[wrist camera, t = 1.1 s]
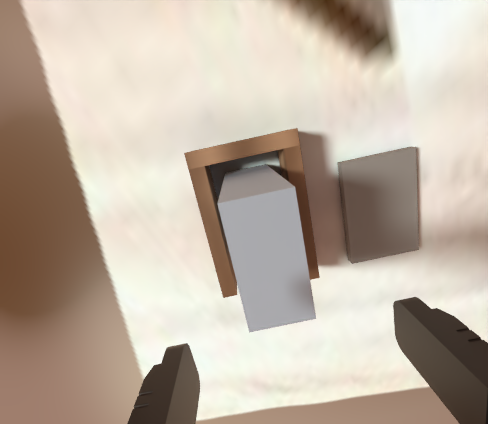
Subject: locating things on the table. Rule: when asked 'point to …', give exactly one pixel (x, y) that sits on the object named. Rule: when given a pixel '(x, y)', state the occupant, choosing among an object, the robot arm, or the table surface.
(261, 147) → the frame
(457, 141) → the table surface
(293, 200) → the block
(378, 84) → the table surface
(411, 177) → the pad
